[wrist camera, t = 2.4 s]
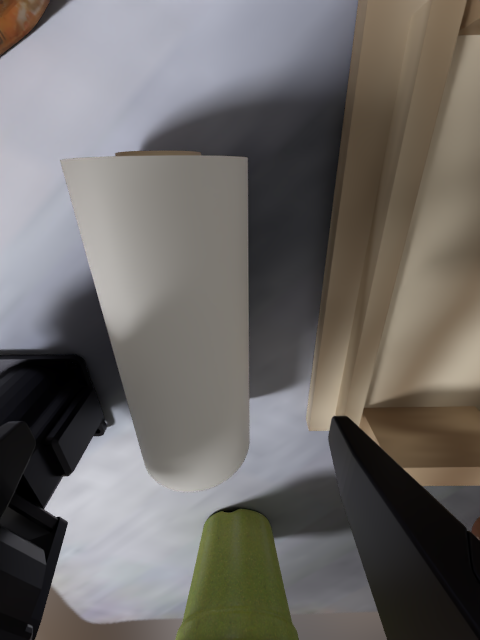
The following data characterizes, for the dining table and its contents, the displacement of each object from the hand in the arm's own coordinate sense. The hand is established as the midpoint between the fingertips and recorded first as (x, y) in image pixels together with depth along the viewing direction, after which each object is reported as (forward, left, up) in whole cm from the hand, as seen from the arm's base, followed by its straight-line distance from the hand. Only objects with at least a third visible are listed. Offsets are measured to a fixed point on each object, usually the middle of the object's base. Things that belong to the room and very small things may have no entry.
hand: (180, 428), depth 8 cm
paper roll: (0, 0, -8) cm, 8 cm away
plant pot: (+1, -22, -8) cm, 23 cm away
